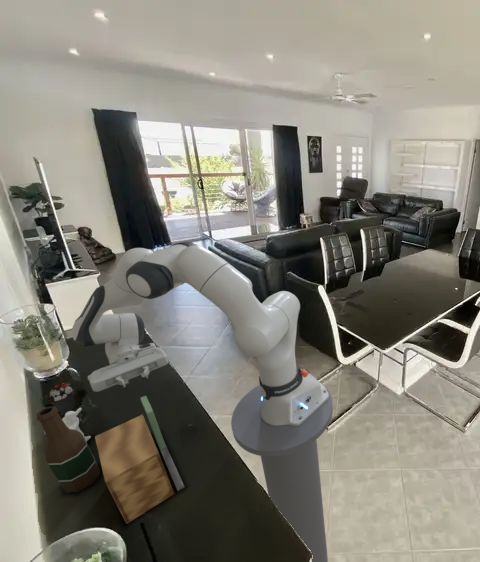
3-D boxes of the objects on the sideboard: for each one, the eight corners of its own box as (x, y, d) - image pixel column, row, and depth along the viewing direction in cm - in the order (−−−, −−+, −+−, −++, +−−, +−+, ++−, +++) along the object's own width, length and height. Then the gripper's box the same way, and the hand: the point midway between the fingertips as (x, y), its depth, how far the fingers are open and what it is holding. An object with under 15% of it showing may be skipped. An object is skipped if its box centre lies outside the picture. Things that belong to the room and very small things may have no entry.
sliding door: (159, 430, 98) (146, 394, 92) (167, 446, 93) (154, 410, 87) (153, 433, 97) (140, 397, 91) (160, 450, 92) (146, 413, 86)
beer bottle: (105, 461, 89) (72, 394, 79) (97, 486, 83) (60, 417, 73) (69, 472, 86) (31, 404, 76) (58, 499, 80) (14, 429, 70)
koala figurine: (94, 431, 98) (79, 401, 94) (97, 444, 94) (82, 414, 89) (57, 448, 93) (39, 417, 88) (58, 463, 89) (40, 431, 84)
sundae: (89, 408, 106) (72, 372, 100) (81, 424, 101) (62, 386, 95) (65, 414, 104) (46, 377, 98) (54, 430, 99) (33, 392, 93)
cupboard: (159, 431, 98) (145, 394, 92) (184, 487, 83) (170, 446, 77) (109, 457, 90) (90, 418, 84) (126, 524, 75) (104, 481, 69)
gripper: (83, 367, 100) (88, 389, 91) (158, 340, 113) (170, 358, 104) (90, 383, 102) (96, 406, 93) (163, 355, 115) (174, 373, 106)
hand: (135, 380), depth 99 cm, fingers open, 3 cm apart
